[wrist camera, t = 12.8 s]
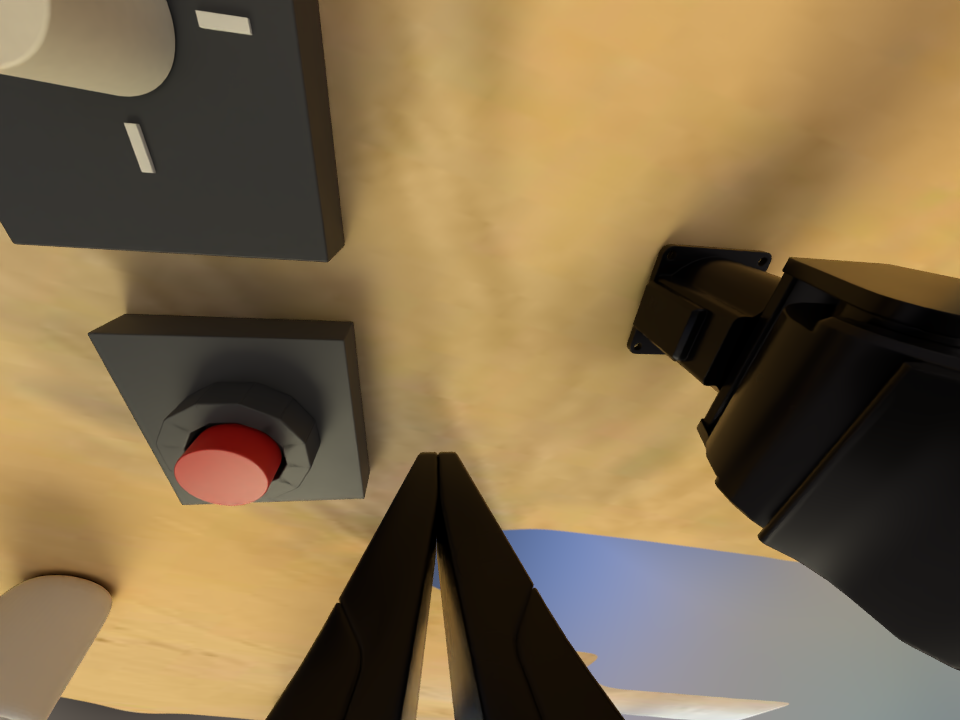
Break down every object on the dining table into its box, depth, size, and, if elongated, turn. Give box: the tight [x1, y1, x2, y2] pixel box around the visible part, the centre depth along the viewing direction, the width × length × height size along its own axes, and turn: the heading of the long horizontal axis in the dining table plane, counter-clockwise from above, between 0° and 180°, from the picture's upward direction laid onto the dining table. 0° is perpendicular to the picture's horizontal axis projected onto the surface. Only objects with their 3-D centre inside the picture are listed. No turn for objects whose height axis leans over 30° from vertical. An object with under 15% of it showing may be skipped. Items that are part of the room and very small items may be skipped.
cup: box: [0, 575, 112, 720], centre depth 25 cm, size 11×8×8 cm
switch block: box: [88, 314, 370, 505], centre depth 19 cm, size 11×12×4 cm
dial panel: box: [0, 0, 345, 262], centre depth 11 cm, size 11×14×3 cm
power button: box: [174, 423, 282, 506], centre depth 17 cm, size 4×4×2 cm
